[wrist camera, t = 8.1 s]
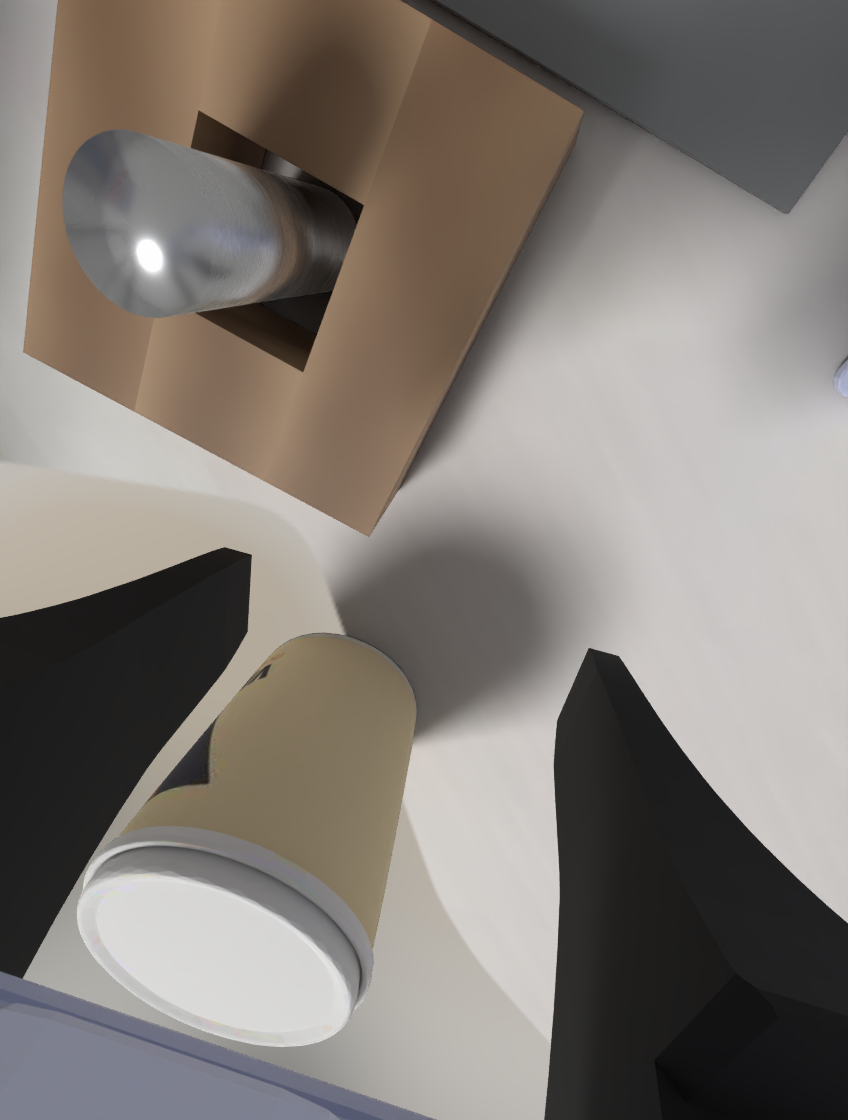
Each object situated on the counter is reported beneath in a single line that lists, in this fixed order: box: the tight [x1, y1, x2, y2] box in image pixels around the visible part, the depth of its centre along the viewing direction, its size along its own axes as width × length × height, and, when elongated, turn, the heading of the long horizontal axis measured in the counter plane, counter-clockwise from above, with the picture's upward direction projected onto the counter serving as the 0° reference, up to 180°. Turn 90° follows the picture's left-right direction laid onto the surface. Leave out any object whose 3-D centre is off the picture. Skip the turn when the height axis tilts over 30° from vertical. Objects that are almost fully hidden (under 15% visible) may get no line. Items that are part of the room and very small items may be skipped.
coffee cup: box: [77, 633, 417, 1047], centre depth 22 cm, size 9×9×12 cm
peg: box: [62, 129, 356, 318], centre depth 14 cm, size 3×3×9 cm
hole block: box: [23, 0, 584, 537], centre depth 17 cm, size 12×12×4 cm
